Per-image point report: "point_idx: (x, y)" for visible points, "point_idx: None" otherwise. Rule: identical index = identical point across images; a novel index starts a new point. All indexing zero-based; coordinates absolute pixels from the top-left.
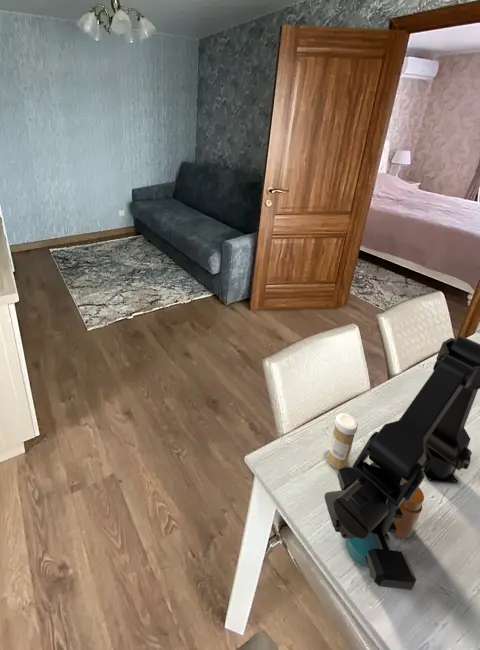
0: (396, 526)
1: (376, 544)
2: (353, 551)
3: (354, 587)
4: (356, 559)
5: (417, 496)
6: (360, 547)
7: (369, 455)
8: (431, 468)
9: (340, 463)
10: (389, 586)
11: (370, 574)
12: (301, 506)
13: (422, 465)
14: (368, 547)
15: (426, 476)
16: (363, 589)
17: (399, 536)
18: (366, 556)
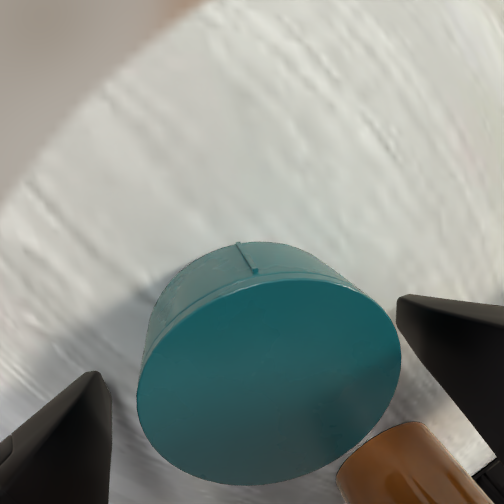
0: (373, 501)
1: (264, 466)
2: (172, 306)
3: (14, 268)
4: (153, 311)
5: None
6: (202, 378)
7: None
8: (488, 492)
9: None
10: None
11: (64, 392)
12: (405, 3)
13: (498, 476)
14: (225, 428)
15: (475, 477)
16: (28, 317)
17: (341, 477)
18: (144, 410)
